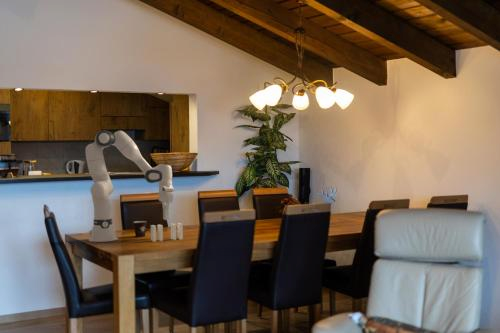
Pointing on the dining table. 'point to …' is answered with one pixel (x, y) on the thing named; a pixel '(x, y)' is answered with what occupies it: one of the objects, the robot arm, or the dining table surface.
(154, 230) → the domino
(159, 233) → the domino
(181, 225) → the domino
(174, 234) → the domino
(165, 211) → the domino
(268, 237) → the dining table surface
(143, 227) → the coffee mug
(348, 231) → the dining table surface
